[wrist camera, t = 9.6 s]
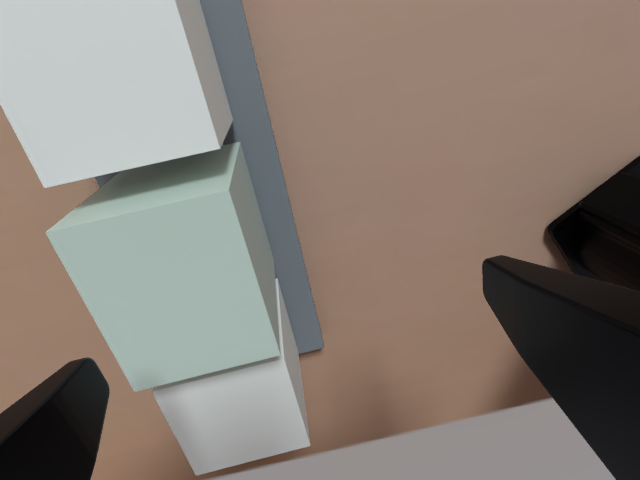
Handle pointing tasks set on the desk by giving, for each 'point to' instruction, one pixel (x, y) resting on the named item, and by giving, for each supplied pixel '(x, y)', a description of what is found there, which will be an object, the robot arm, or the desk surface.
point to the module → (175, 267)
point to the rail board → (162, 145)
